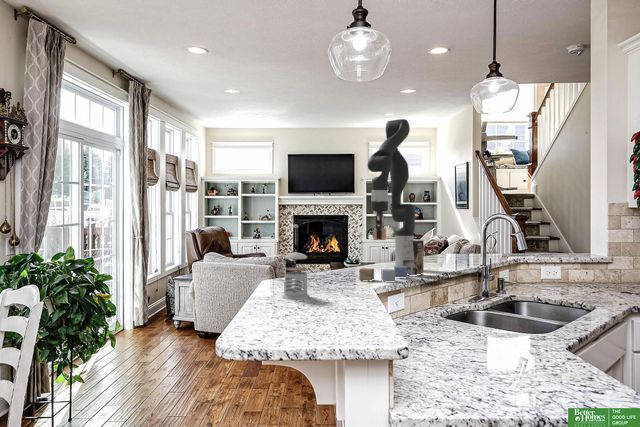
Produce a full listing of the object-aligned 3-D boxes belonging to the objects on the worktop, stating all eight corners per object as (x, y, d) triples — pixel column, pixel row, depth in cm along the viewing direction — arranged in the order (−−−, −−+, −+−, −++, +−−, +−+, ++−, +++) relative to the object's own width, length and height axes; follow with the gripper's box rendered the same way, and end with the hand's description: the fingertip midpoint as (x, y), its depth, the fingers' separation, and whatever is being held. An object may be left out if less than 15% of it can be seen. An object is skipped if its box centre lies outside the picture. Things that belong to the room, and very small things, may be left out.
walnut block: (362, 279, 195) (362, 268, 195) (373, 280, 193) (373, 268, 193) (359, 281, 190) (359, 269, 190) (370, 281, 188) (370, 270, 188)
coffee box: (415, 277, 201) (415, 241, 201) (402, 276, 205) (402, 240, 205) (424, 274, 208) (424, 240, 208) (411, 273, 212) (411, 239, 212)
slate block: (381, 280, 192) (381, 268, 192) (392, 280, 192) (392, 268, 192) (383, 282, 187) (383, 270, 187) (395, 282, 187) (395, 270, 187)
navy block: (394, 277, 202) (393, 266, 202) (405, 277, 201) (405, 266, 201) (395, 278, 197) (395, 267, 197) (406, 278, 196) (406, 267, 196)
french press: (306, 299, 149) (306, 224, 149) (273, 298, 151) (272, 224, 151) (312, 294, 159) (312, 224, 159) (281, 293, 161) (281, 223, 161)
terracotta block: (374, 239, 204) (374, 228, 204) (385, 239, 203) (385, 228, 203) (373, 239, 199) (373, 228, 199) (384, 240, 198) (384, 228, 198)
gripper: (373, 201, 209) (373, 237, 209) (369, 200, 195) (369, 239, 195) (389, 201, 207) (389, 237, 207) (386, 200, 193) (386, 239, 193)
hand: (379, 238), depth 201 cm, fingers closed on terracotta block, 5 cm apart
